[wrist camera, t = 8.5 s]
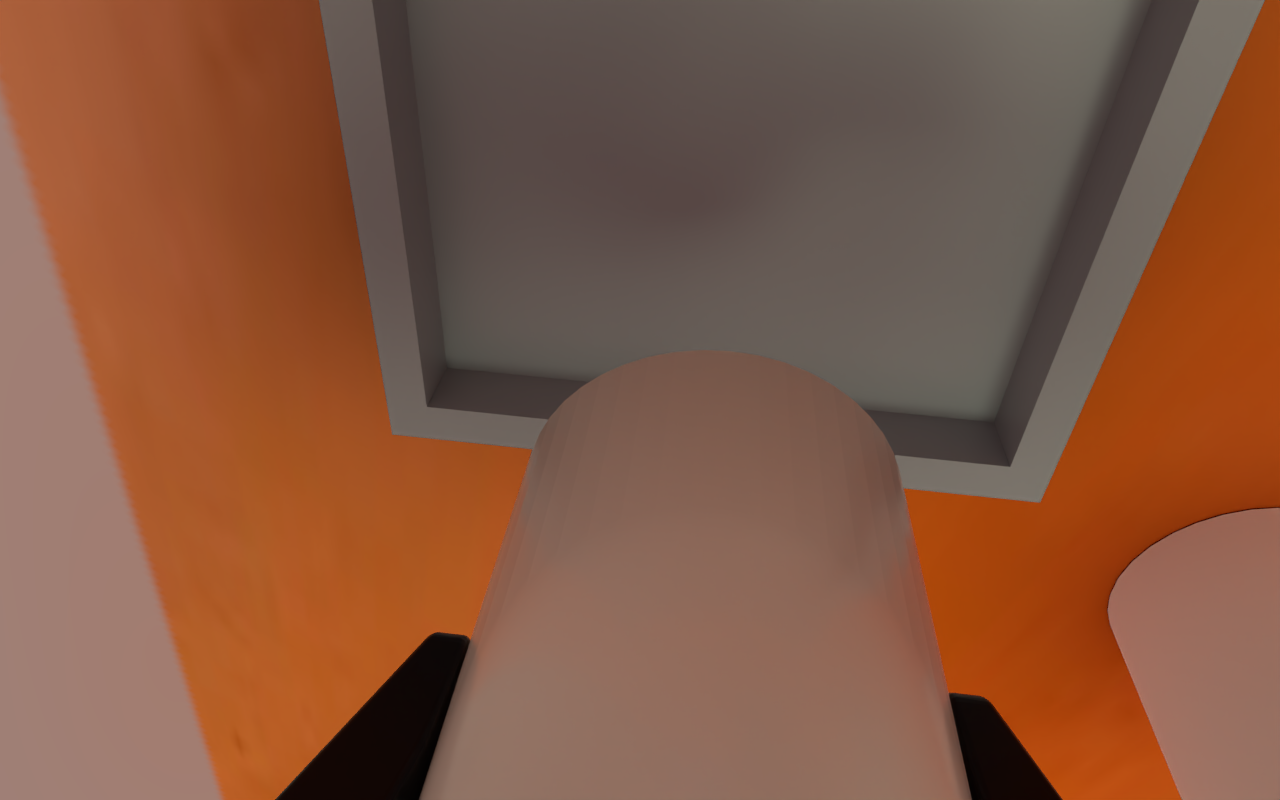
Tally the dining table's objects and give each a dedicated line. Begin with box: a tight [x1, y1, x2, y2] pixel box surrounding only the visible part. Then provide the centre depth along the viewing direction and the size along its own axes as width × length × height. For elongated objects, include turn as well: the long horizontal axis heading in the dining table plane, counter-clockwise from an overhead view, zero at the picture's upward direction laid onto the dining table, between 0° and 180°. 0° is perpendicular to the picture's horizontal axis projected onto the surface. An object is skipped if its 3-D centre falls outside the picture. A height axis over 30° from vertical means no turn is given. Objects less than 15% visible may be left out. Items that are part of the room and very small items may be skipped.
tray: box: [319, 0, 1265, 502], centre depth 17 cm, size 16×16×2 cm
